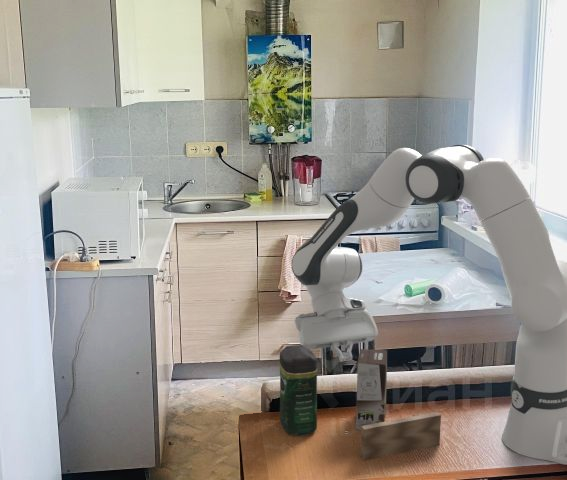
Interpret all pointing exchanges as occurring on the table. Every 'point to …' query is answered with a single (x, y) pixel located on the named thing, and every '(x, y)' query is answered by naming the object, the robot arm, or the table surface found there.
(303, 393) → the coffee jar
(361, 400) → the coffee box
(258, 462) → the table surface
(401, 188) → the robot arm
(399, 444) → the keeper bracket
